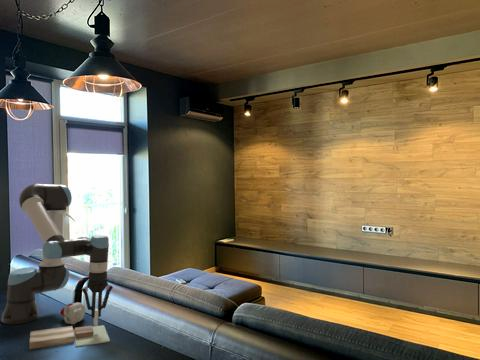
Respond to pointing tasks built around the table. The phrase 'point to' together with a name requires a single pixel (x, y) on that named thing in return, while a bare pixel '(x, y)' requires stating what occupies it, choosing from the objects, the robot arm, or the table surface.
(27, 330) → the table surface
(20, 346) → the table surface
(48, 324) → the table surface
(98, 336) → the sage mat
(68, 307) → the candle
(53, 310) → the table surface
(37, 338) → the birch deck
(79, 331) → the walnut tile
